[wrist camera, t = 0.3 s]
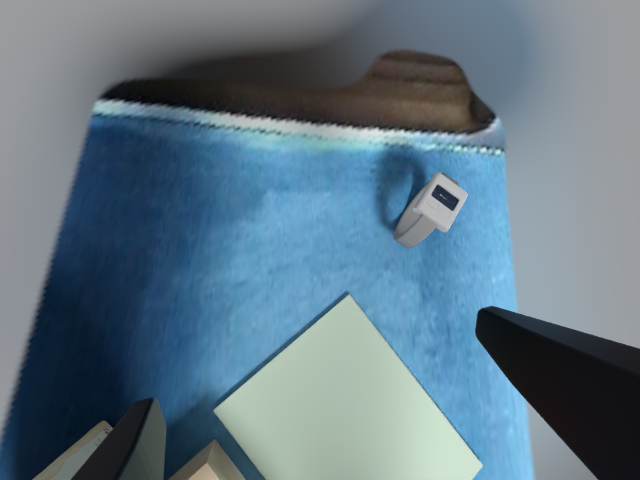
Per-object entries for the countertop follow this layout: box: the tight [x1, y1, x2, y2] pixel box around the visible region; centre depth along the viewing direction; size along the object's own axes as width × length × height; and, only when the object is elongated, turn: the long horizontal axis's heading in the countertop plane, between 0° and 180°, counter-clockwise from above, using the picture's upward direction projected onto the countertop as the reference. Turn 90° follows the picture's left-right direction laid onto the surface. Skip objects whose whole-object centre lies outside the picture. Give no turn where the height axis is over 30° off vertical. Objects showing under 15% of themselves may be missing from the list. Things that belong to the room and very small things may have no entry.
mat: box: [213, 294, 483, 480], centre depth 22 cm, size 16×12×1 cm
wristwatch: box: [394, 172, 468, 248], centre depth 23 cm, size 6×3×5 cm, turn 146°
